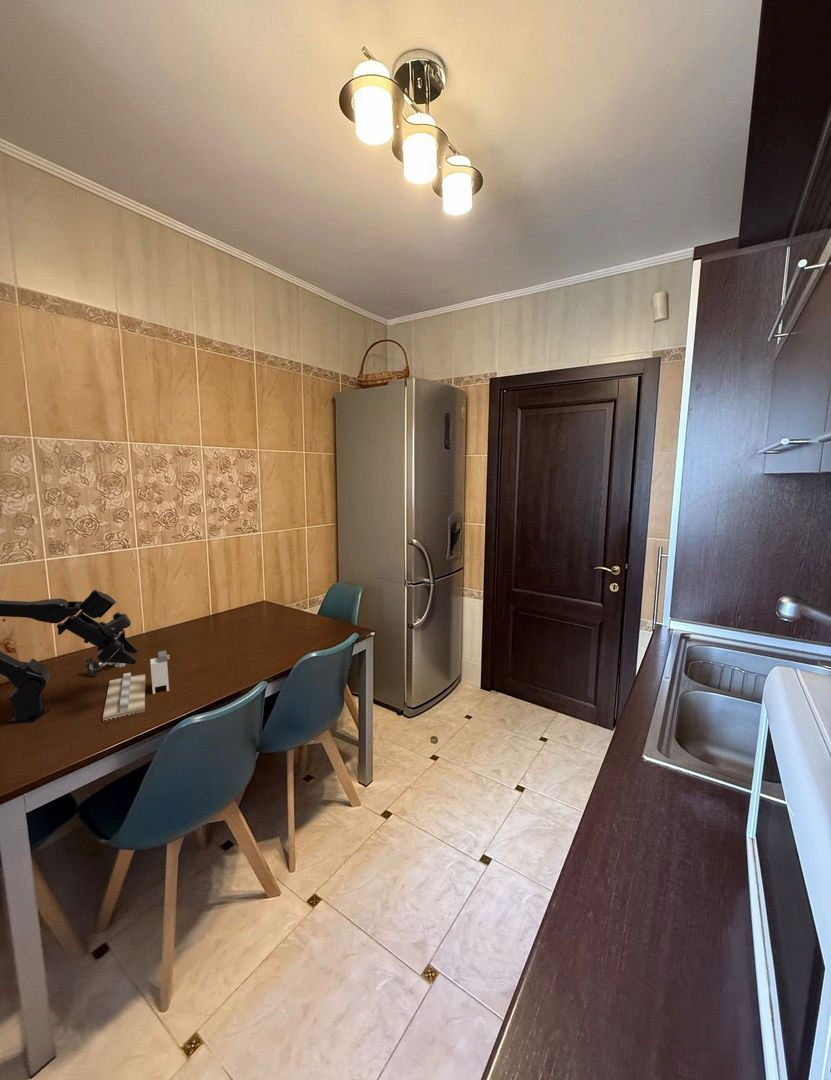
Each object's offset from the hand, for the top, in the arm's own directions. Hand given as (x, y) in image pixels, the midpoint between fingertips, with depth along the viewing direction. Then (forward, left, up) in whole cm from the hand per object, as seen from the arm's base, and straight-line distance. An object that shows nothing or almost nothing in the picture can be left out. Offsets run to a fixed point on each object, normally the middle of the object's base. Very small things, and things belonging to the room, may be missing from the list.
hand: (136, 657), depth 137 cm
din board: (-2, +3, -12) cm, 13 cm away
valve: (+19, +19, -13) cm, 30 cm away
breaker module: (+3, -5, -12) cm, 14 cm away
